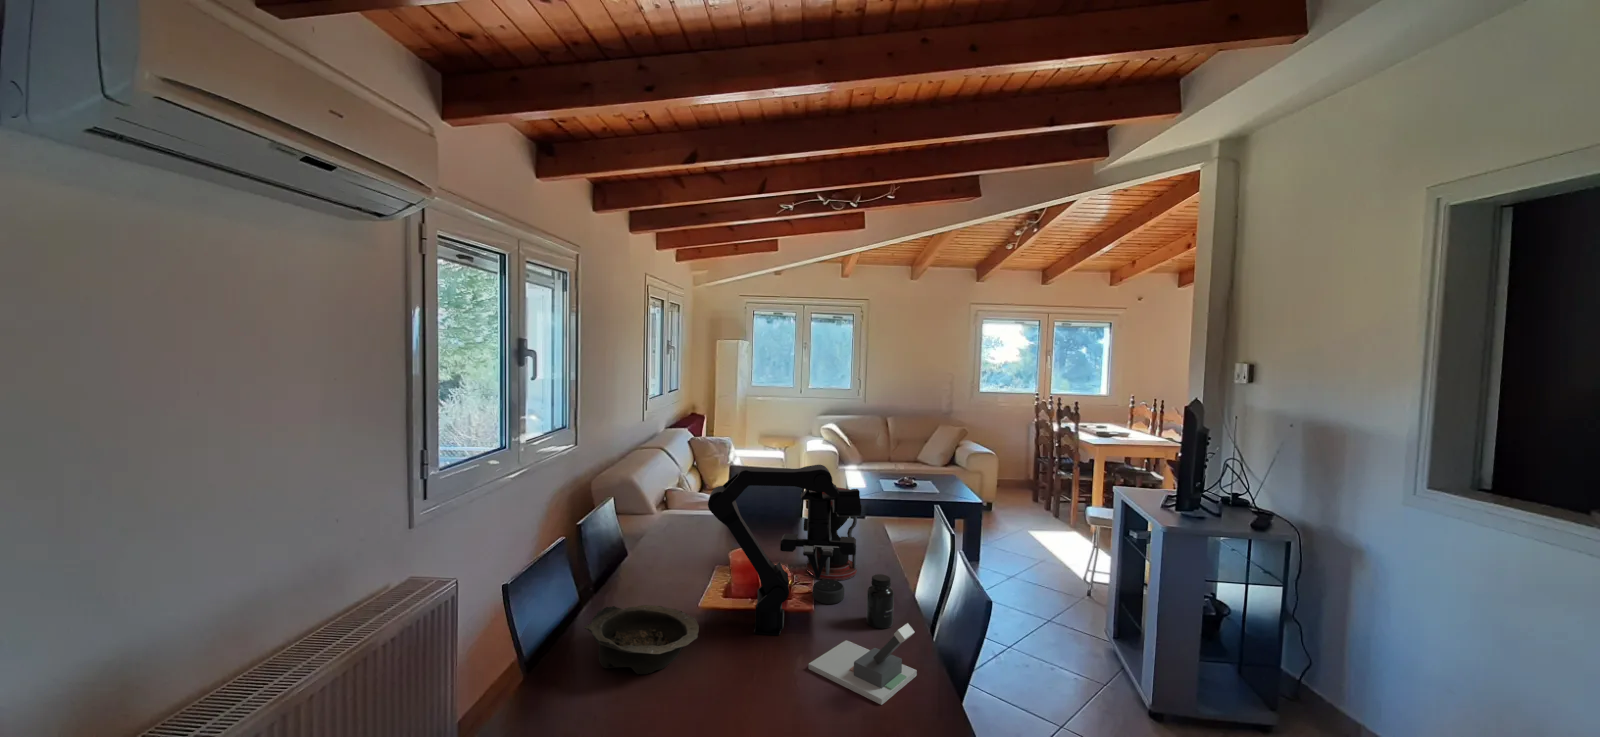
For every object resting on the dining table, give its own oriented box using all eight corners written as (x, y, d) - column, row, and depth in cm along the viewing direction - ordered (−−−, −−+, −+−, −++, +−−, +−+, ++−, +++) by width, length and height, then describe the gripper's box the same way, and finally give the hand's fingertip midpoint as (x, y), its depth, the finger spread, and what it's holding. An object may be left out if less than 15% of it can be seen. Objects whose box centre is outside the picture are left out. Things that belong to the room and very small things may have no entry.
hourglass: (860, 564, 190) (861, 488, 189) (853, 583, 175) (855, 501, 174) (811, 559, 194) (813, 485, 193) (801, 577, 178) (802, 497, 177)
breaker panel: (808, 668, 128) (808, 650, 128) (846, 644, 139) (846, 627, 139) (881, 705, 116) (882, 684, 116) (916, 675, 126) (917, 656, 126)
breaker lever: (871, 656, 123) (897, 629, 119) (881, 649, 126) (907, 623, 122) (878, 665, 122) (905, 639, 118) (888, 658, 125) (914, 632, 121)
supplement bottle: (892, 631, 146) (893, 584, 146) (865, 627, 148) (866, 581, 147) (893, 618, 153) (894, 573, 152) (867, 615, 154) (868, 571, 154)
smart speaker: (844, 606, 160) (845, 591, 160) (812, 605, 160) (812, 591, 160) (843, 592, 169) (843, 578, 169) (812, 591, 169) (812, 578, 169)
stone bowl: (560, 671, 125) (562, 628, 125) (633, 628, 148) (635, 592, 149) (657, 697, 116) (658, 650, 116) (719, 647, 139) (720, 608, 140)
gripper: (856, 509, 153) (855, 567, 153) (786, 505, 155) (785, 563, 155) (856, 521, 142) (854, 584, 142) (780, 518, 144) (779, 580, 144)
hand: (817, 577), depth 146 cm, fingers closed
